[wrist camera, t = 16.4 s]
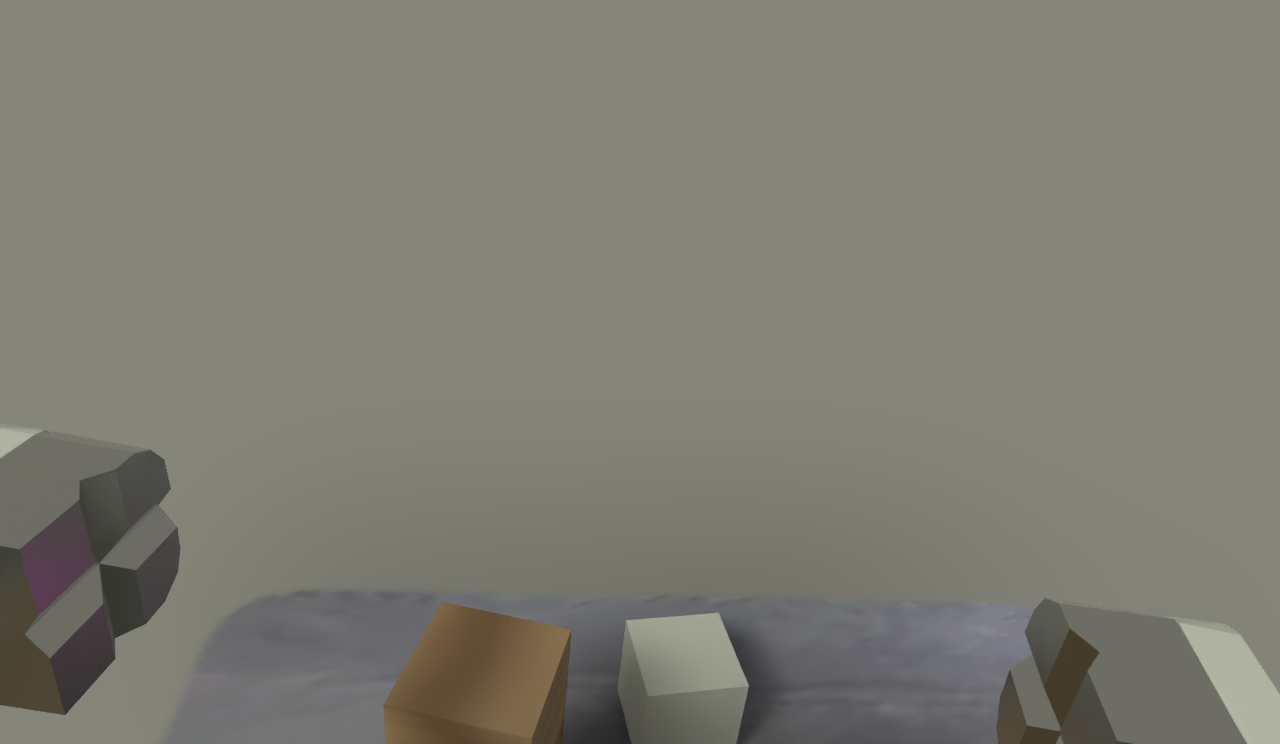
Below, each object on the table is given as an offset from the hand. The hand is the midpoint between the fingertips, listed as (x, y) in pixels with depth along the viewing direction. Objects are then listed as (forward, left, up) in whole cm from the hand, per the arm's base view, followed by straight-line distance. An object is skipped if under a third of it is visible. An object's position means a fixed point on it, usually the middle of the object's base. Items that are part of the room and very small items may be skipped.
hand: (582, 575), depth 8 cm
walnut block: (+5, -16, -27) cm, 32 cm away
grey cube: (-2, -27, -32) cm, 42 cm away
